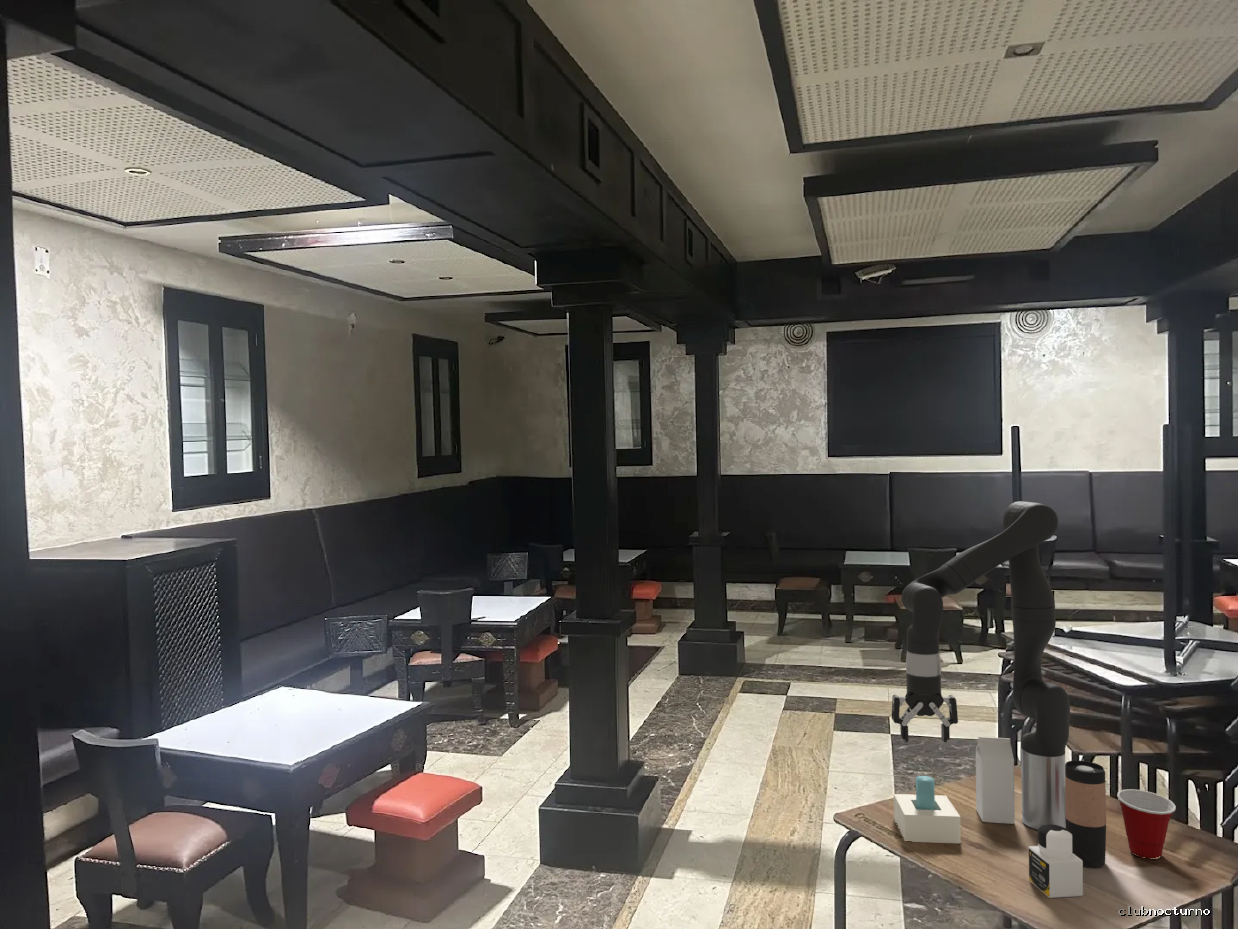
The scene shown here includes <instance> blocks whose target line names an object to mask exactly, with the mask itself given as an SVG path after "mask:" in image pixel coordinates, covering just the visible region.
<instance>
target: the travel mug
mask: <svg viewBox="0 0 1238 929" xmlns="http://www.w3.org/2000/svg"><path fill="white" fill-rule="evenodd" d="M1106 790H1107V789H1106V770H1105V768H1104V767H1103V766H1102V765H1101V764H1099V763H1095V762H1092V761H1088V760H1076V759H1075V760H1069V761H1065V822H1066V829H1067V830H1069V831H1070V832H1071V834H1072V853H1073V854H1074V855H1076V856H1077V857H1078V858H1080V859H1081V860H1082V861H1083V868H1089V869H1099V868H1103V867H1104V866H1105V865H1106V852H1107V850H1106V848H1107V847H1106V846H1107V844H1106V843H1107V804H1106V803H1107V799H1106V798H1107V796H1106V793H1107V792H1106Z"/></svg>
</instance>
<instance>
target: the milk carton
mask: <svg viewBox="0 0 1238 929" xmlns="http://www.w3.org/2000/svg"><path fill="white" fill-rule="evenodd" d="M1013 753H1014V752H1013V749H1012V744H1011V738H1005V737H989V736H988V737H986V736H978V741H977V745H976V747H975V805H976V806H975V809H976V812H977V814H978V816H979V818H980V819H981V821H982V822H983V823H996V824H1009V825H1010V824H1012V825H1014V824H1015V821H1016V820H1015V819H1016V818H1015V817H1016V814H1015V759H1014V754H1013Z"/></svg>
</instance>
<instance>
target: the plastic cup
mask: <svg viewBox="0 0 1238 929" xmlns="http://www.w3.org/2000/svg"><path fill="white" fill-rule="evenodd" d="M1116 795H1117V796H1116V797H1117V799H1118V801H1119V805H1120V808H1121V812H1122V817H1123V823H1124V828H1125V835H1126V837H1127V843H1128V848H1129V852H1130V853H1131V852H1132V853H1134V854H1136V855H1138V856H1140V857H1145V858H1156V857H1159V856H1161V857H1162V856H1163V850H1164V845H1165V842H1166V836H1167V833H1168V827H1169V823H1170V820H1171V817H1172V815H1173V813H1174V812H1175V811H1176V809H1177V808H1176V805H1175V803H1174V802H1173V801H1172V800H1170V799H1169V798H1167V797H1165V796H1163V795H1160V794H1158V793H1154V792H1151V791H1147V790H1144V789H1143V790H1142V789H1134V788H1132V789H1131V788H1130V789H1121V790H1120V791H1118V792H1117V794H1116ZM1132 853H1131V854H1132ZM1134 854H1133V855H1134ZM1138 856H1137V857H1138ZM1140 857H1139V858H1140Z"/></svg>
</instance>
